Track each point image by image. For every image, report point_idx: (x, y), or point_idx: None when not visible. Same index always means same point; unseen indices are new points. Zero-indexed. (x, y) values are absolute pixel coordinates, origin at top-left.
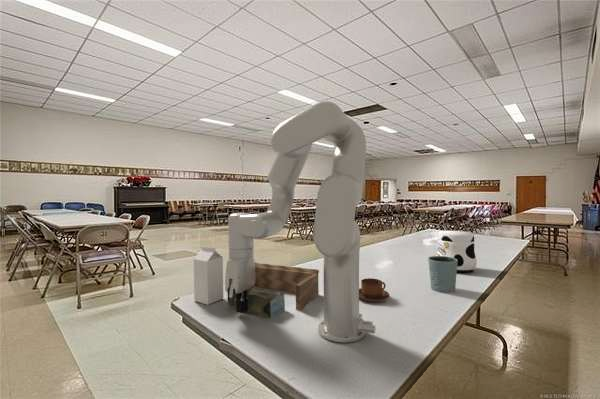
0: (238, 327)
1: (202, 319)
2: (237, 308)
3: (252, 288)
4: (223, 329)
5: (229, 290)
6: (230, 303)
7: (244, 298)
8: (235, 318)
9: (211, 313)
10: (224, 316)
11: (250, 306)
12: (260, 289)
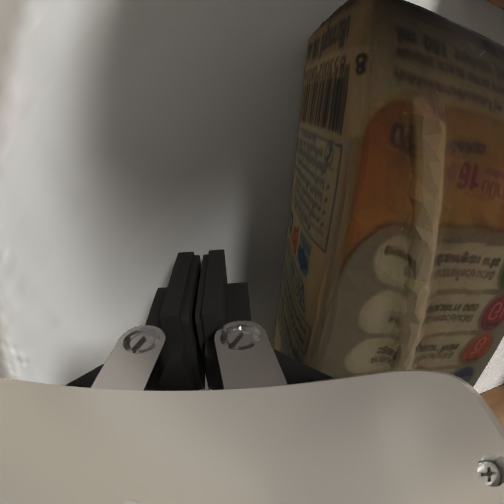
0: (85, 346)
1: (20, 71)
2: (157, 298)
3: (481, 301)
4: (23, 295)
5: (20, 382)
6: (308, 68)
7: (212, 388)
8: (147, 261)
9: (118, 26)
10: (125, 163)
11: (279, 328)
12: (461, 368)
